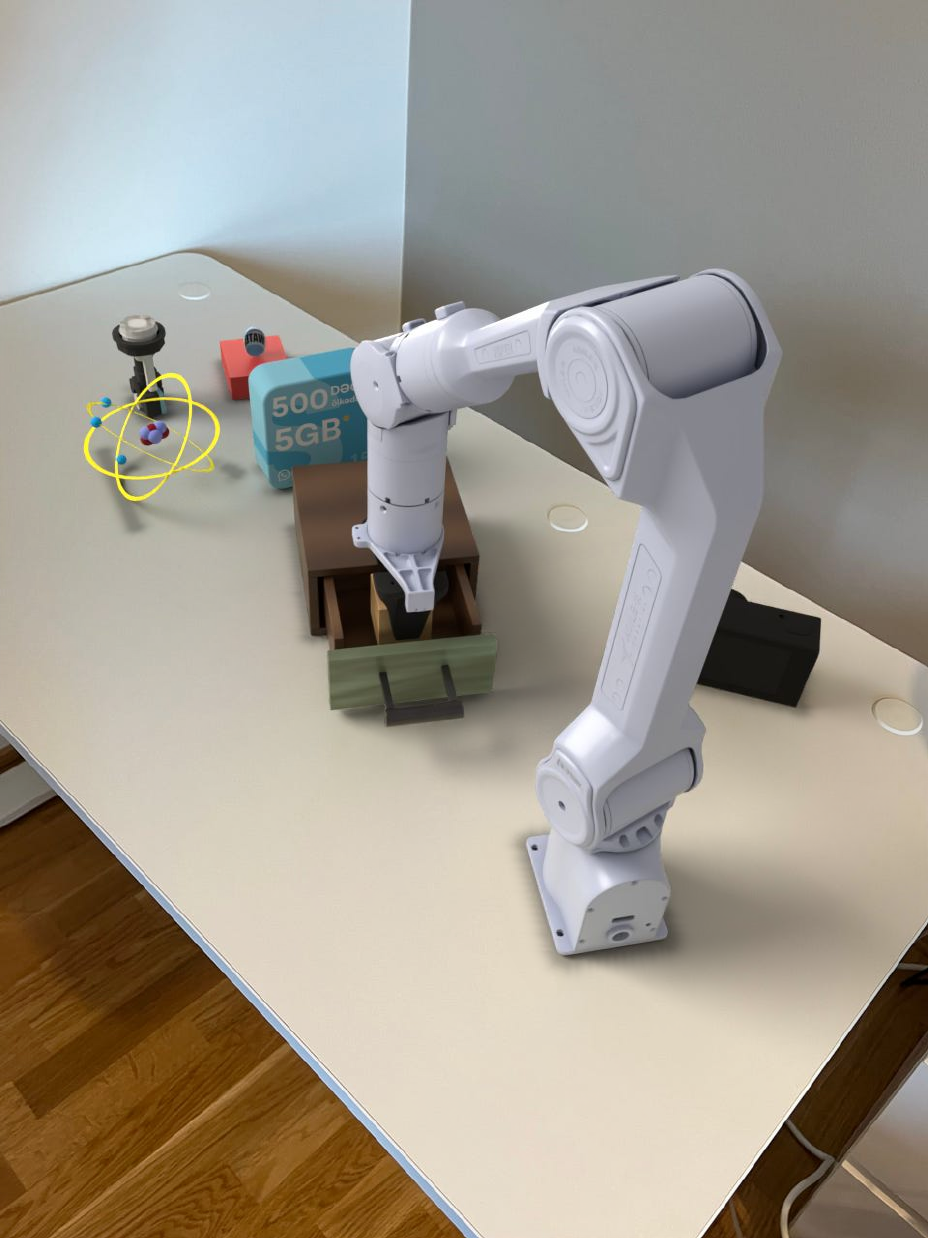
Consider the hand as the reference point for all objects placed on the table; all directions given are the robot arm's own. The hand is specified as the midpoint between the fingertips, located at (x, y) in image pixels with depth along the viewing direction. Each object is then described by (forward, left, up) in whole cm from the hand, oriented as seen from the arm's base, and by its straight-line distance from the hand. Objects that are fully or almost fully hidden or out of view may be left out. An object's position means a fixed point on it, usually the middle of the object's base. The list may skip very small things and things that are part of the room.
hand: (401, 615), depth 89 cm
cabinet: (+11, 0, -5) cm, 12 cm away
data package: (+28, +4, -5) cm, 29 cm away
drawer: (-2, 0, -4) cm, 5 cm away
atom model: (+28, +20, -5) cm, 35 cm away
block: (0, 0, -1) cm, 1 cm away
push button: (+42, +21, -5) cm, 47 cm away
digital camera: (-6, -29, -5) cm, 30 cm away
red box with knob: (+46, +9, -5) cm, 47 cm away
